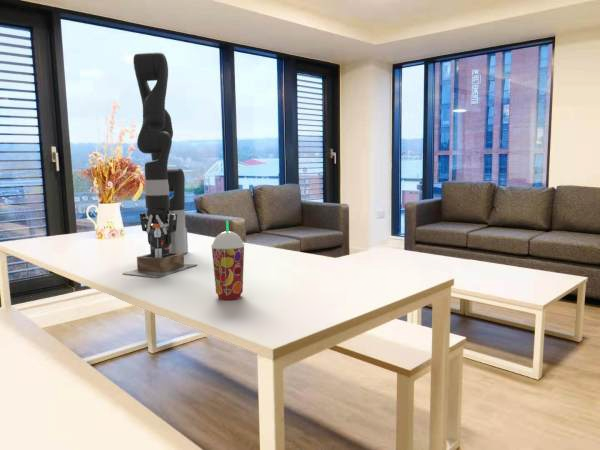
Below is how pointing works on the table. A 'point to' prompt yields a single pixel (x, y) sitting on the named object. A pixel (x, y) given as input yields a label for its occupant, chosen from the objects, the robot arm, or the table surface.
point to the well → (159, 265)
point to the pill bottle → (158, 243)
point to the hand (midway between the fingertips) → (159, 244)
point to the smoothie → (228, 264)
